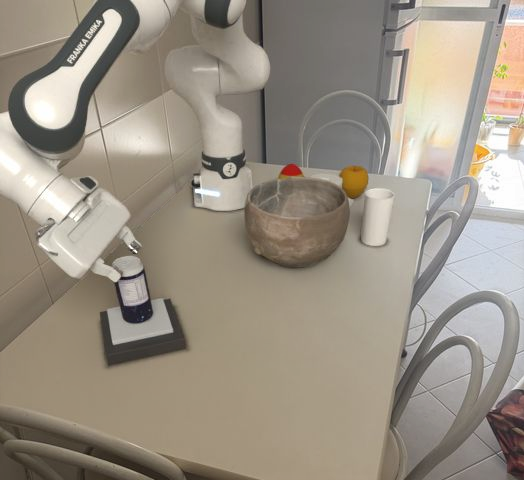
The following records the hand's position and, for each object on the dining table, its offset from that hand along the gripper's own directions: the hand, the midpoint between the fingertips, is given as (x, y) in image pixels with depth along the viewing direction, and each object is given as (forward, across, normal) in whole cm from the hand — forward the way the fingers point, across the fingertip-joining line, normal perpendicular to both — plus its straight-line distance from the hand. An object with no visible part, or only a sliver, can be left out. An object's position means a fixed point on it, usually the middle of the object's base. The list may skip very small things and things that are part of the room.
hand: (129, 263), depth 85 cm
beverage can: (+8, 0, +9) cm, 12 cm away
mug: (+43, +45, -21) cm, 65 cm away
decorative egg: (+26, +66, -4) cm, 71 cm away
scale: (+11, -1, +11) cm, 15 cm away
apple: (+38, +70, -17) cm, 81 cm away
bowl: (+29, +34, -8) cm, 45 cm away
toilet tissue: (+34, +58, -12) cm, 69 cm away
